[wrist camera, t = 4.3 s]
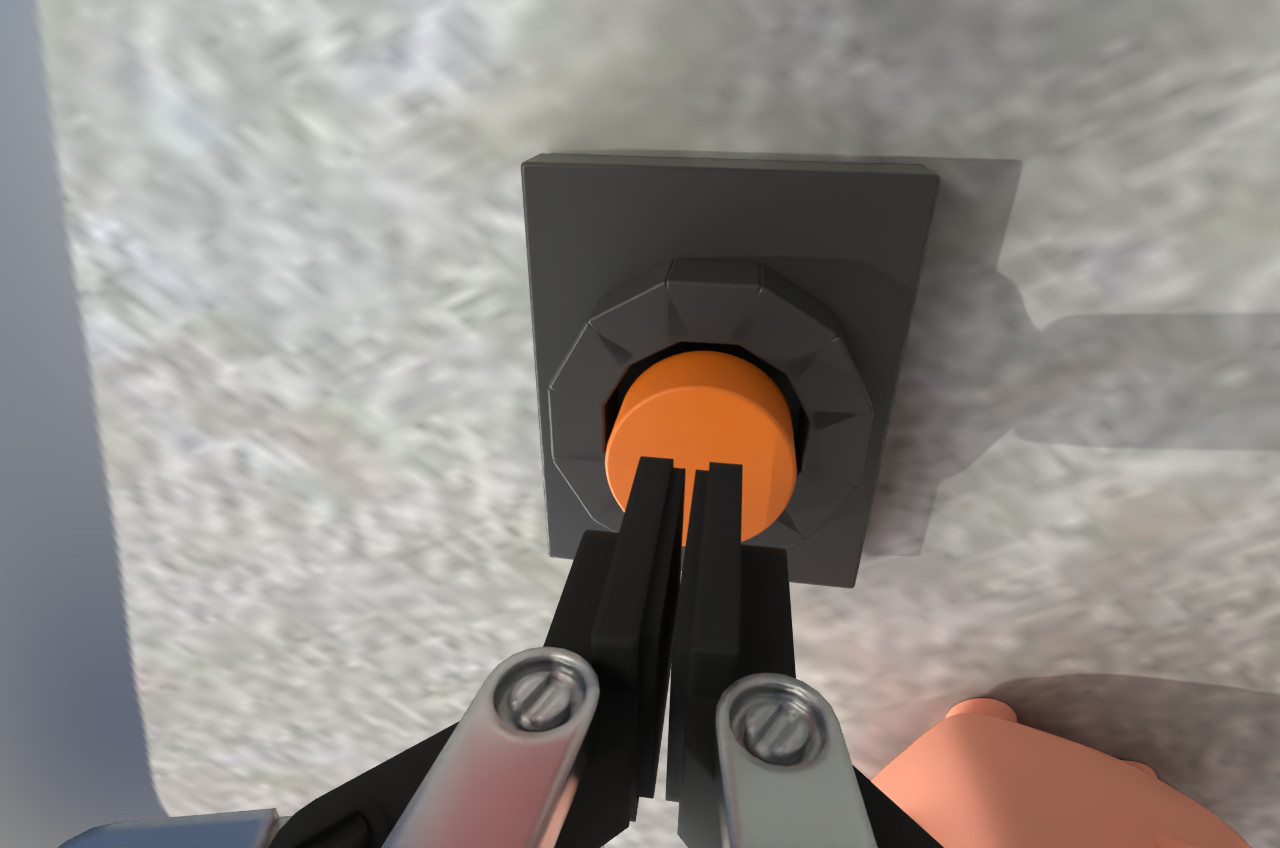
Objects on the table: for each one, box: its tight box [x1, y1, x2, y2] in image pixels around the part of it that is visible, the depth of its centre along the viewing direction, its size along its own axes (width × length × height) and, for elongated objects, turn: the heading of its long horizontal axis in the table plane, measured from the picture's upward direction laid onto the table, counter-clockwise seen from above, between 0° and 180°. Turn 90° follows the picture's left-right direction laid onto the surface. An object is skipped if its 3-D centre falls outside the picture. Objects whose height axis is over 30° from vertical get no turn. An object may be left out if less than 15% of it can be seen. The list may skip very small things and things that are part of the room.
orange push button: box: [605, 351, 797, 546], centre depth 14 cm, size 4×4×2 cm
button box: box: [521, 153, 940, 588], centre depth 15 cm, size 10×8×3 cm
